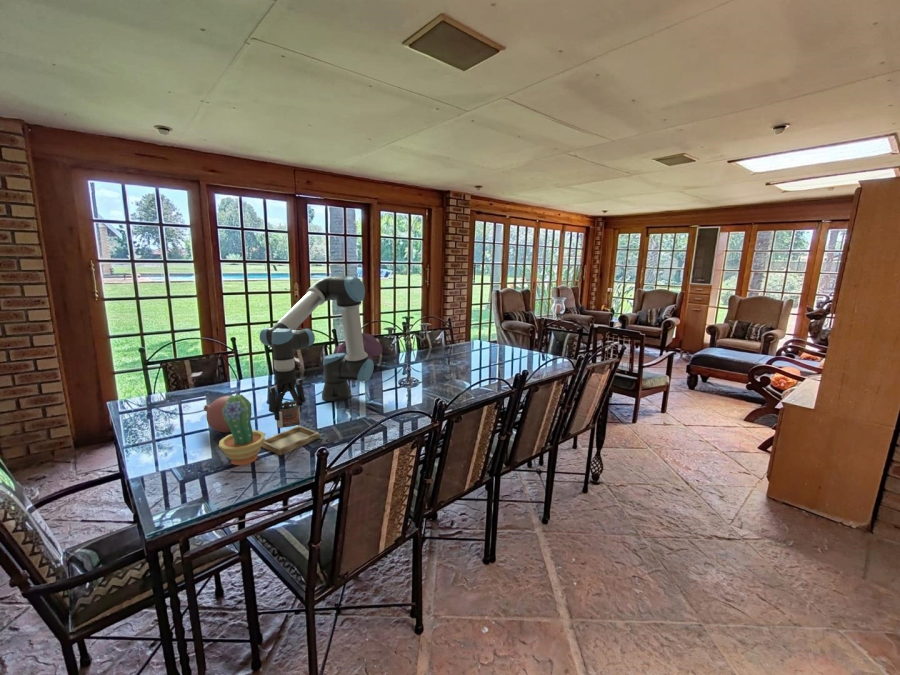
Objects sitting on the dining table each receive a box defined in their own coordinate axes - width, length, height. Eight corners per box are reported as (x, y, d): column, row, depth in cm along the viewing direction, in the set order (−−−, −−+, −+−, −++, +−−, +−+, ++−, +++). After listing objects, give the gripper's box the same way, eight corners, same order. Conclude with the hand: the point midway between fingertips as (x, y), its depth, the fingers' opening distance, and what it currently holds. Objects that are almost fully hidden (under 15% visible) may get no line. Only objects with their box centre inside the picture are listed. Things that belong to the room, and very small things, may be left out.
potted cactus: (210, 465, 144) (202, 399, 139) (246, 446, 158) (239, 386, 153) (243, 473, 138) (235, 405, 133) (276, 453, 152) (271, 391, 147)
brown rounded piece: (224, 419, 183) (221, 387, 180) (257, 426, 176) (254, 393, 172) (192, 433, 169) (187, 398, 166) (226, 441, 162) (222, 405, 158)
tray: (299, 430, 172) (299, 425, 172) (319, 437, 165) (319, 432, 165) (260, 446, 158) (260, 441, 157) (280, 455, 151) (279, 450, 150)
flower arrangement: (350, 387, 243) (353, 345, 233) (319, 375, 251) (321, 334, 241) (381, 367, 274) (385, 329, 264) (353, 357, 281) (355, 319, 271)
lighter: (278, 428, 157) (276, 404, 155) (278, 425, 160) (276, 401, 158) (300, 425, 160) (298, 401, 158) (299, 422, 163) (297, 398, 161)
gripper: (301, 361, 166) (304, 413, 170) (254, 373, 149) (259, 430, 154) (312, 364, 161) (315, 417, 166) (266, 376, 145) (271, 435, 150)
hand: (289, 423), depth 160 cm, fingers closed on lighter, 7 cm apart
